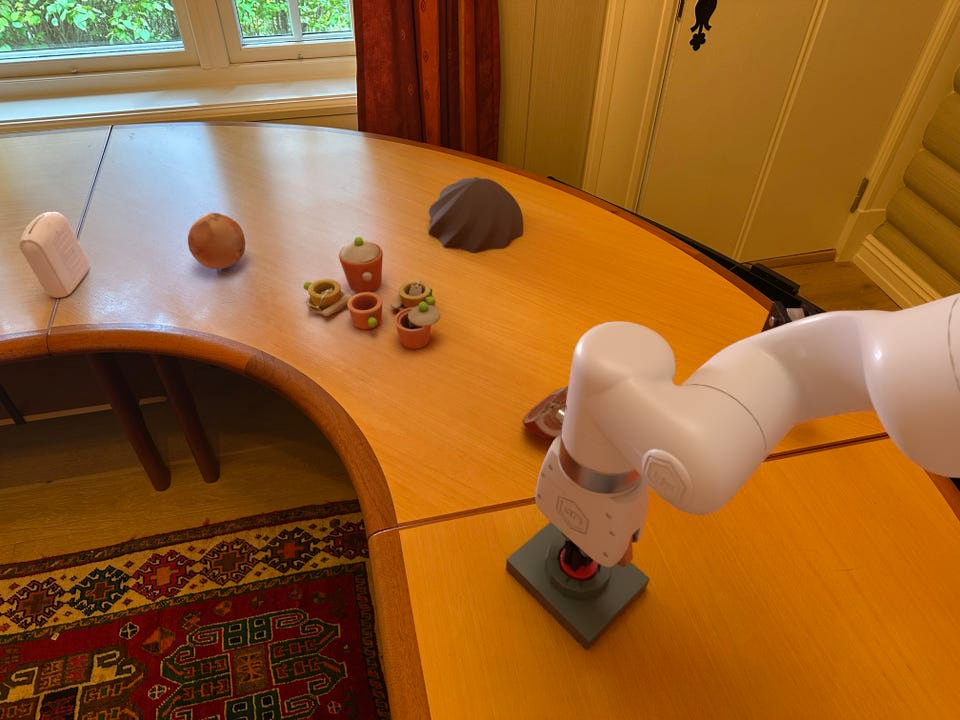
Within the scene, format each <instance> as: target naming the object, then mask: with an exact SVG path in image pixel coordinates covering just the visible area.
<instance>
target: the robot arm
mask: <svg viewBox="0 0 960 720" xmlns="http://www.w3.org/2000/svg"><path fill="white" fill-rule="evenodd" d="M570 367H571V368H570V373H569V381H568V385H567V386H568V393H567V400H566V406H565V409H564V408H561V409H560V410H559V411H558V412H557V413H556V415H555V418H554V419H555V420H556V421H557V422H558V423H560V426H561V427H560V428H561V429H562V430H561V435H559V436H558V437H556V438H554V440H553V441H552V443H551V445H550V446H549V448H548V451H547V453H546V455H545V457H544V460H543V462H542V465H541V468H540V471H539V474H538V478H537V481H536V488H535V493H534V498H535V506H536V508H537V509H538V510H539V512H540V513H541V514H542V515H543V516H544V517H545V518H546V519H547V520H548V521H549V523H550V522H551V523H553V524H554V525H555V526H556V527H557V528H558V529H559V530H560V531H561V533H562V536H563V537H564V538H565V539H566V540H565V545H564V548H565V554H564V559H563V562H564V563H565V564H566V565H570V567H571V569H572V570H573V571H574V572H575V571H577V570H578V569H579V568H580V567H581V566H582V565H584V566H585V567H588V566H589V565H590V564H591V563H592V562H593V561H596V562H597V563H599V564H601V565H603V566H605V567H612V566H614V565H615V564H616V563H617V564H618V565H620V566H621V567H625V566H626V565H627V564H628V563H629V562H632V560H634V559H633V558H634V555H633V554H634V553H633V543H634V544H636V543H638V542H639V540H640V539H641V537H642V534H643V532H644V528H645V525H646V520H647V515H648V510H649V509H648V508H649V503H650V489H652V490H653V492H654V493H655V494H656V495H658V497H660V498H661V499H662V500H664V502H667V503H668V504H670V505H671V507H674V508H675V509H677V510H679V511H681V512H683V513H687V514H689V515H693V516H707V515H710V514H713V513H716V512H717V511H720V510H721V509H723V508H724V507H725V506H726V505H727V504H728V503H730V501H731V500H732V499H733V498H734V497H735V496H736V495H737V493H739V492H740V490H741V489H742V488H743V486H744V485H746V483H747V482H748V481H749V480H750V478H751V477H752V476H753V475H754V474H755V473H756V471H757V470H758V469H759V468H760V467H761V465H762V464H763V463H764V461H765V460H766V459H767V458H768V457H769V456H770V454H771V453H772V452H773V451H774V449H775V448H776V447H777V446H778V445H779V444H780V442H781V441H782V440H783V439H784V438H785V437H786V436H787V435H788V434H789V432H790V431H791V430H792V429H793V428H794V427H795V426H797V425H800V424H804V423H807V422H810V421H815V420H819V419H820V420H821V419H824V418H830V417H836V416H840V415H845V414H852V413H859V412H860V413H861V412H875V413H876V416H877V418H878V420H879V421H880V423H881V425H882V427H883V429H884V430H885V432H886V434H887V435H888V436H889V438H890V439H891V440H892V442H893V443H894V444H895V446H896V447H897V448H898V450H900V452H901V453H902V454H903V455H904V456H905V457H906V458H907V459H908V460H909V461H911V462H912V463H913V464H915V465H916V466H918V467H920V468H921V469H923V470H925V471H927V472H929V473H931V474H935V475H938V476H941V477H944V478H952V479H953V478H955V479H960V292H958V293H955V294H952V295H949V296H945V297H942V298H939V299H936V300H932V301H929V302H926V303H921V304H919V305H915V306H912V307H909V308H904V309H900V310H896V311H895V310H894V311H890V310H889V311H887V310H879V309H865V310H864V309H863V310H862V309H861V310H834V311H833V310H832V311H827V312H822V313H817V315H813V316H809V317H806V318H803V319H800V320H797V321H794V322H790V323H787V324H784V325H782V326H779V327H776V328H773V329H770V330H768V331H765V332H762V333H761V332H759V333H756V334H754V335H751V336H748V337H745V338H743V339H740V340H738V341H736V342H734V343H731V344H729V345H728V346H726V347H724V348H723V349H721V350H720V351H718V352H717V353H715V354H714V355H713V356H712V357H710V358H709V359H708V360H707V361H706V362H704V364H703V365H701V366H700V367H699V368H697V369H696V370H695V371H694V372H693V373H692V374H691V375H690V376H689V377H687V378H686V379H685V380H684V381H683V382H682V383H681V384H680V385H677V384H676V383H674V379H675V375H676V368H677V367H676V358H675V354H674V351H673V349H672V347H671V346H670V344H669V343H668V342H667V340H666V339H665V338H664V337H663V336H662V335H660V334H659V333H658V332H656V331H655V330H654V329H651V328H649V327H647V326H645V325H642V324H639V323H635V322H631V321H624V320H623V321H621V320H619V321H608V322H603V323H599V324H597V325H595V326H593V327H592V328H590V329H588V331H586V332H585V333H584V334H583V335H581V337H580V338H579V340H578V342H577V343H576V345H575V347H574V350H573V356H572V360H571V366H570Z"/></svg>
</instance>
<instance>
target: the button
mask: <svg viewBox="0 0 960 720" xmlns="http://www.w3.org/2000/svg"><path fill="white" fill-rule="evenodd" d="M564 554H565V548H564V550H563V551H562V553H561V557H560V563H559V566H560V569H561V571H562V572H564V573H565V574H566V575H567V576H568V577H569V578H571V579H575V580H578V581H585V580H590V579H592V578H593V577H594V576H595V574H596V571H597V567H598V563H597V562H596V561H593V562H592V563H591V564H590V565H589V566H588V567H585V566H584V565H582V566H581V567H580V568H579V569H578V570H577V571H575V572H574V571H573V570H572V569H571V567H570V565H566V564H565V563H564V562H563V559H564Z"/></svg>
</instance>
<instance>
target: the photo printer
mask: <svg viewBox="0 0 960 720" xmlns="http://www.w3.org/2000/svg"><path fill="white" fill-rule="evenodd" d="M18 245H19V249H20V251H21V253H22V255H23V257H25V260H26V261H27V263H28V265H29V266H30V268H31V270H32V271H33V274H34V275H35V276H36V278H37V280H38V282H39V283H40V285H41V286H42V289H43V290H44V291H45V293H46V294H47V295H48V296H50V297H51V298H55V299H59V298H65V297H68V296H69V295H71V293H72V292H73V291H75V289H76V288H77V287H78V285H79V284H80V282H81V281H82V280H83V279H84V277H85V276H86V275H87V273H88V272H89V270H90V268H91V263H90V261H89V260H88V258H87V255H86V254H85V252H84V250H83V248H82V246H81V244H80V242H79V240H78V238H77V236H76V235H75V232H74V230H73V229H72V227H71V225H70V223H69V221H68V219H67V218H66V217H65V216H64V215H63V214H62V213H60V212H58V211H52V212H51V211H47V212H43V213H41V214H40V215H38V216H36V217H35V218H33V219H32V220H31V221H30V222H29V223H28V225H27V226H26V227H25V229H24V231H23V232H22V235H21V237H20V239H19V243H18Z"/></svg>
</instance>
